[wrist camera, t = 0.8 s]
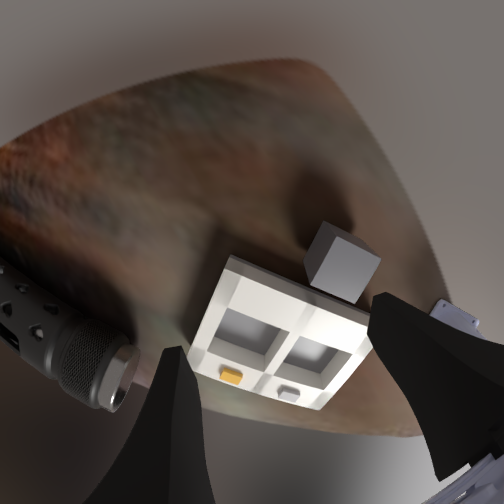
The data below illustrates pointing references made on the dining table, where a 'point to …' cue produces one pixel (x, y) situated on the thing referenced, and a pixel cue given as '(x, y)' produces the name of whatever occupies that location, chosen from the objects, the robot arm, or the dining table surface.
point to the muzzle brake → (65, 342)
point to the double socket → (278, 337)
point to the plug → (339, 262)
